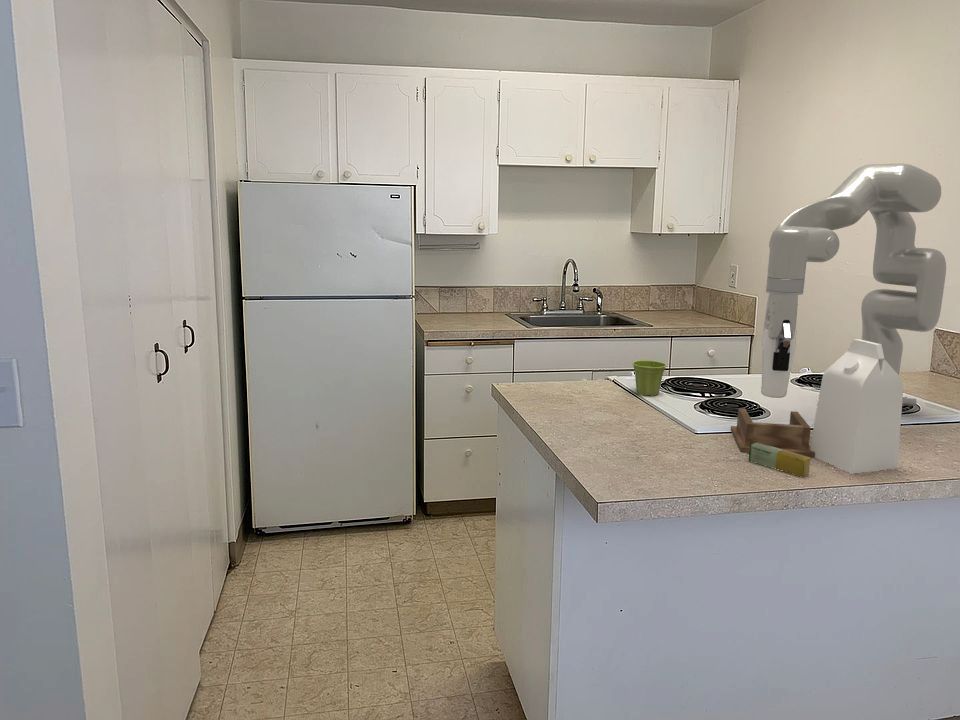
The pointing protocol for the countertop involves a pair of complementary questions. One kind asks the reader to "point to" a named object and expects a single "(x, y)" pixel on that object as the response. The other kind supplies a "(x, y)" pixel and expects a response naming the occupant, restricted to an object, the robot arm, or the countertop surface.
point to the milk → (859, 411)
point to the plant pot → (648, 376)
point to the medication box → (779, 459)
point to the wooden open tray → (773, 434)
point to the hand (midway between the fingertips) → (776, 366)
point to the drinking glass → (773, 380)
